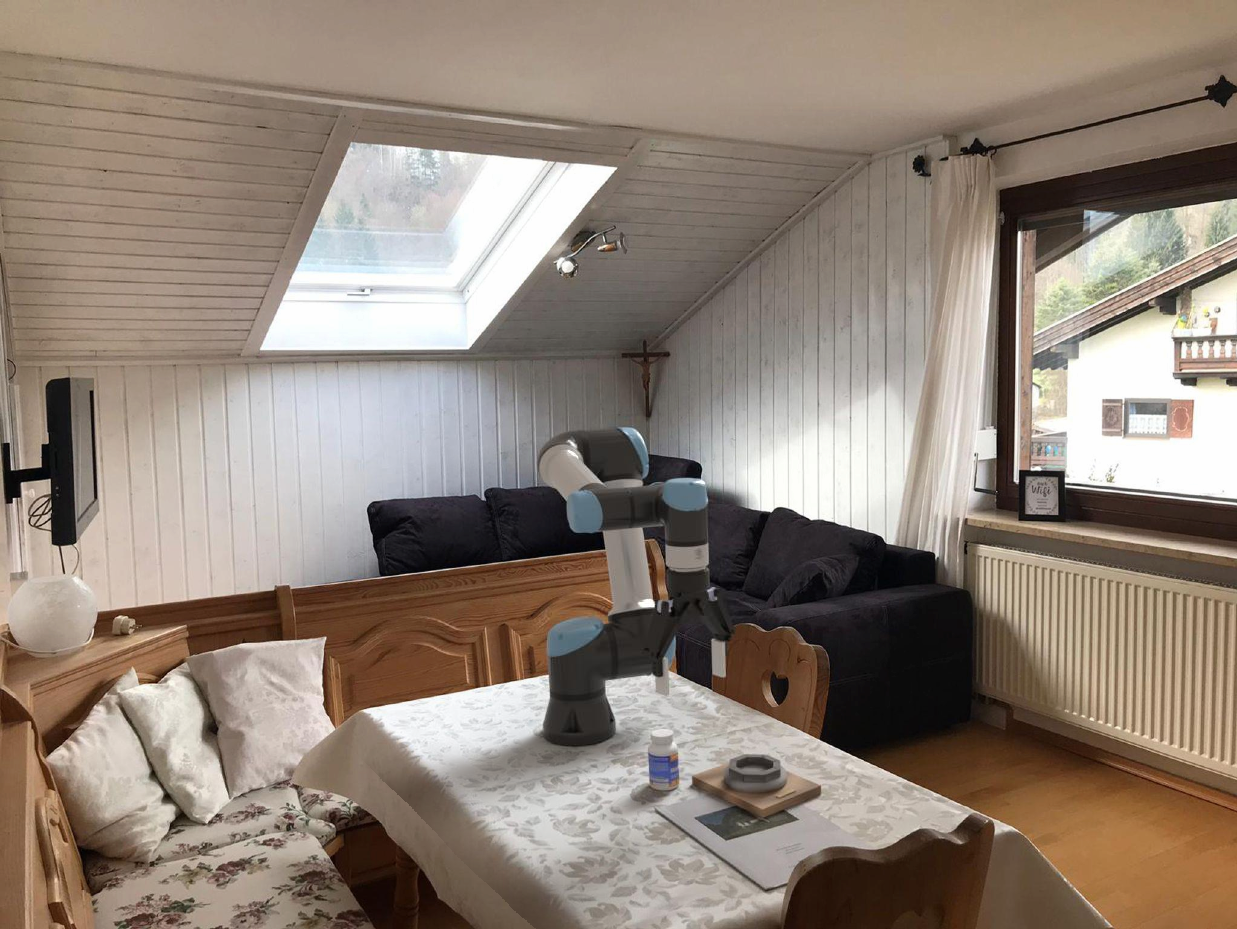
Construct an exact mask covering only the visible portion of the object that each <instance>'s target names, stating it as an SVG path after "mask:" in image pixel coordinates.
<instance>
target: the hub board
mask: <svg viewBox="0 0 1237 929" xmlns="http://www.w3.org/2000/svg"><path fill="white" fill-rule="evenodd" d="M691 783H692V784H691V785H693V786H696V787H697V788H700V789H701V790H704V791H706V792H708V793H710V794H713V795H714V796H717V797H718V798H721V799H722V798H723V800H725V801H726V800H727V802H728V803H731V804H733V805H735V806H737V807H739V808H740V809H744V810H745V811H747V812H750V813H751V814H753V815H756V816H758V817H760V818H762V819H763V818H764V819H765V818H767V817H770V816H771V815H774V814H776V813H778V812H780V811H781V812H782V811H783V810H785V809H788V808H791V807H793V806H795V805H797V804H800V803H802V802H806V801H807V800H810V799H812V798H815V797H817V796H819V795H822V785H821V784H820V783H819V784H818V783H816V782H813V781H812V780H809V779H807V778H804V777H802V776H799V775H797V774H795V773H792V772H790V771H788V770H787V769H785V767H783V766H782V765H781V760H780V759H778V758H776V757H772V756H770V755H767V754H765V753H763V754H761V753H760V754H759V753H758V754H756V753H755V754H754V753H753V754H752V753H750V754H749V753H746V754H742V755H738V756H736V757H734V758H730V759H729V762H726V763H724V764H721V765H719V766H715V767H713V768H710V769H708V770H704V771H701V772H699V773H696V774H694V775H691Z"/></svg>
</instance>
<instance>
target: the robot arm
mask: <svg viewBox="0 0 1237 929" xmlns="http://www.w3.org/2000/svg"><path fill="white" fill-rule="evenodd" d="M649 461H650V460H649V454H648V449H647V446H646V443H645V441H644V437H642V435H641V433H639V432H638V430H637V429H635V428H633V427H619V426H614V427H605V428H589V429H574V430H573V429H571V430H566V431H563V432H560V433H558V434H555V435H554V436H552V437H551V438H550V439H548V440H547V441H546V442H545V443H544V444H543V445H542V447H541V448H540V450H539V452H538V455H537V460H536V468H537V469H536V470H537V473H538V474H539V477H540V479H541V480H542V481H543V482H544V483H545V484H546V485H547V486H548V487H551V488H552V489H556V490H557V492H559V494H560V495H561V496H562V497H563V498H564V500H565V501H566V517H567V522H568V523H569V524H568V525H569V528H570V529H571V530H572V531H573V532H574V533H578V534H579V533H589V534H593V533H600V532H602V534H603V540H604V542H603V543H604V547H605V554H606V562H607V569H608V576H609V583H610V592H611V593H610V594H611V598H612V608H611V610H610V611H609V612H608V613H607V623H604V622H603V620H602V619H601V618H600V617H597V616H580V617H575V618H574V617H573V618H570V619H567V620H564V621H561V622H559V623H557V624H555V625H554V626H553V627H551V628H550V629H549V631H548V633H547V638H546V639H547V640H546V652H545V653H546V655H547V666H548V667H547V670H548V686H549V700H548V703H547V708H546V711H545V714H544V720H543V722H542V731H543V732H542V733H543V734H542V735H543V738H544V739H545V740H546V741H548V742H551V743H553V744H555V745H561V746H573V747H574V746H589V745H593V744H597V743H600V742H605V741H606V740H609V739H610V738H612V737H613V736H614V735H615V734H616V732H617V725H616V724H617V723H616V722H617V721H616V717H615V715H614V712H613V710H612V708H611V704H610V702H609V698H608V696H607V692H606V688H607V687H606V682H607V681H613V680H620V679H629V678H636V677H644V676H647V677H650V676H651V675H652V676H654V677H655V678H654V679H655V681H654V682H655V693H657V694H659V695H661V696H664V697H665V696H666V697H668V696H670V678H669V676H670V674H669V672H670V671H669V669H670V667H671V666H672V664H673V662H674V658H675V653H676V635H677V633H678V631H679V629H680V627H682V626H683V625H684V624H685V622H689V621H692V620H693V619H695V620H698V619H700V620H701V621H702V623H703V624H704V625H705V626H706V628H707V629H708V630H709V631H710V632H711V634H712V635H713V636H714V638H712V639H711V641H710V642H711V670H712V675H713V676H716V677H720V678H726V677H727V675H726V674H727V671H726V657H727V655H728V642H731V640H732V636H734V635H735V634H736V632H737V631H736V627H735V626H734V623H733V621H732V618H731V617H730V615H729V614H730V613H729V612H728V610H727V608H726V605H725V603H724V601H723V594H722V590H721V588H720V587H719V588H717V587H714V586H710V585H711V584H710V580H711V579H710V568H708V567H707V566H709V563H710V562H709V561H710V559H709V558H710V557H709V525H708V523H709V521H708V519H709V518H708V517H709V516H708V504H709V498H708V493H707V491H708V490H707V484H706V482H705V481H704V480H703V479H702V478H693V477H679V478H678V477H677V478H671V479H667V480H666V481H664V482H662V481H660V482H659V481H658V482H653V483H651V484H649V485H644V482H643V479H645V478H646V477H647V476H648V474H649V468H650V466H649ZM650 527H651V528H653V527H664V541H665V542H664V543H665V546H664V547H665V565H666V566H667V567H668V568H667V569H666V587H667V590H668V591H669V597H668V599H665V600H662V599H658V598H657V599H656V600H655V601H654V598H653V590H652V584H651V577H650V569H649V563H648V557H647V556H648V555H647V549H646V545H645V543H646V542H645V536H644V531H643V529H644V528H650ZM707 603H709V606H710V607H711V609H710V608H709V607H708V605H707ZM711 610H712V611H711Z"/></svg>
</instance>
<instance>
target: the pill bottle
mask: <svg viewBox="0 0 1237 929" xmlns="http://www.w3.org/2000/svg"><path fill="white" fill-rule="evenodd" d="M650 740H651V742H650V744H648V746H647V755H648V756H647V757H648V760H647V761H648V778H649V780H648V781H649V786H650V788H652V789H654V790H657V791H662V792H663V791H672V790H674V789H676V788H677V787H679V785H680V766H679V748H678V745H677V744H676V742H674V732H673V730H671V729H667V728H659V729H658V728H657V729H654V730H653V731H651V733H650Z"/></svg>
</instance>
